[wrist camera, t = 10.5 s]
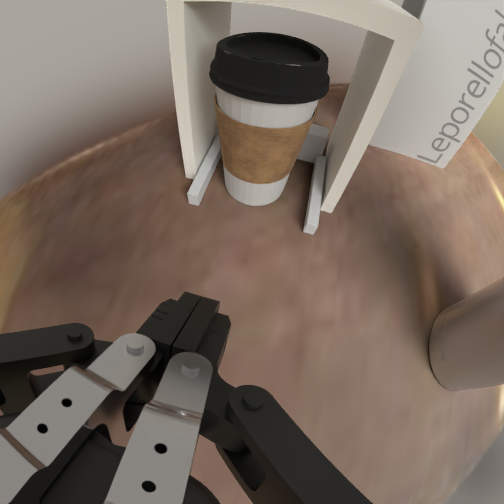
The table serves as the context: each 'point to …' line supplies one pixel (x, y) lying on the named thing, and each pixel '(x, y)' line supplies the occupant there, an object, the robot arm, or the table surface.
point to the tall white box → (445, 79)
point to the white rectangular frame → (344, 133)
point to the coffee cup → (264, 109)
